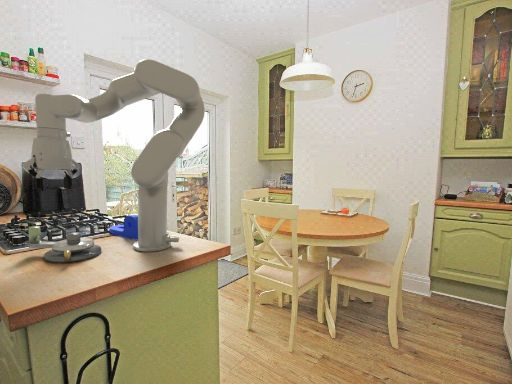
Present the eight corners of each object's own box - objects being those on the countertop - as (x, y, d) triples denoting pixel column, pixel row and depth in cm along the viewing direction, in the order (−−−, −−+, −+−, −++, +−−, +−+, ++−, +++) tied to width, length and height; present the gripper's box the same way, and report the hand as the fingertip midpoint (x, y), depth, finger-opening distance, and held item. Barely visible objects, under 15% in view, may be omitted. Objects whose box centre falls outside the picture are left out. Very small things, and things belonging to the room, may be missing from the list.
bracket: (152, 235, 111) (153, 213, 110) (136, 240, 103) (136, 217, 102) (122, 228, 118) (122, 208, 117) (104, 232, 111) (104, 211, 110)
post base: (108, 246, 94) (108, 236, 93) (86, 264, 78) (86, 251, 78) (61, 246, 92) (61, 235, 91) (29, 264, 76) (28, 251, 75)
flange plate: (100, 241, 91) (99, 223, 91) (84, 252, 81) (83, 232, 80) (41, 241, 89) (40, 222, 88) (17, 252, 78) (16, 231, 77)
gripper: (74, 137, 96) (76, 186, 98) (12, 131, 81) (15, 190, 83) (86, 137, 92) (88, 188, 94) (23, 131, 77) (26, 192, 79)
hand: (54, 189), depth 89 cm, fingers open, 7 cm apart
